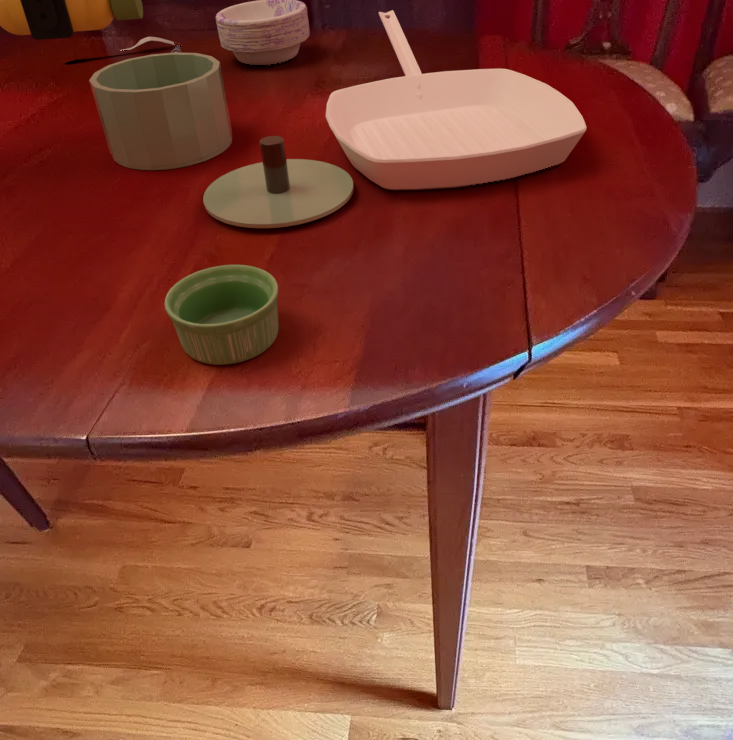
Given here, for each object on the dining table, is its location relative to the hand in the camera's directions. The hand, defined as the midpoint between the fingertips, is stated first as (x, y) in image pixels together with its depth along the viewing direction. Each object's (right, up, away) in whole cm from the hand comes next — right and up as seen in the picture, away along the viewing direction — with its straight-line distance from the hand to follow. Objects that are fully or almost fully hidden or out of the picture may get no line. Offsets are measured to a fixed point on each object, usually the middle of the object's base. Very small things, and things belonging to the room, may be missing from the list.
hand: (59, 28), depth 59 cm
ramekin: (+14, -26, +1) cm, 29 cm away
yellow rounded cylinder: (0, 0, 0) cm, 0 cm away
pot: (0, +1, +35) cm, 35 cm away
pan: (+34, +4, +36) cm, 49 cm away
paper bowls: (+8, +25, +65) cm, 70 cm away
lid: (+15, -8, +21) cm, 27 cm away
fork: (-19, +29, +73) cm, 81 cm away
